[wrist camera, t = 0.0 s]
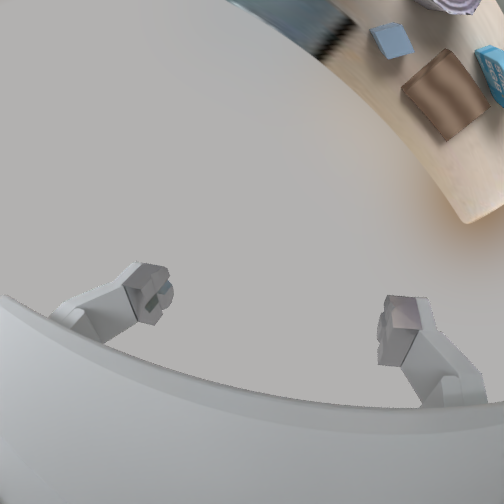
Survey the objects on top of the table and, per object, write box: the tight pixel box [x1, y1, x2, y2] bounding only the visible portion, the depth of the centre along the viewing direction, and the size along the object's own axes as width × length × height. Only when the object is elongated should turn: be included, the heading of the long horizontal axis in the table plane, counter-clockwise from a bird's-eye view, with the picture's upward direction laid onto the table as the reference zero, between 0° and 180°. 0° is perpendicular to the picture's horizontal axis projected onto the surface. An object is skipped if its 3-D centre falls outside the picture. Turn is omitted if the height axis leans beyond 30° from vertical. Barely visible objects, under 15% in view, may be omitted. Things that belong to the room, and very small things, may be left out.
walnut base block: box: [401, 48, 491, 142], centre depth 38 cm, size 14×14×4 cm
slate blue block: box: [369, 22, 415, 59], centre depth 33 cm, size 5×5×8 cm
